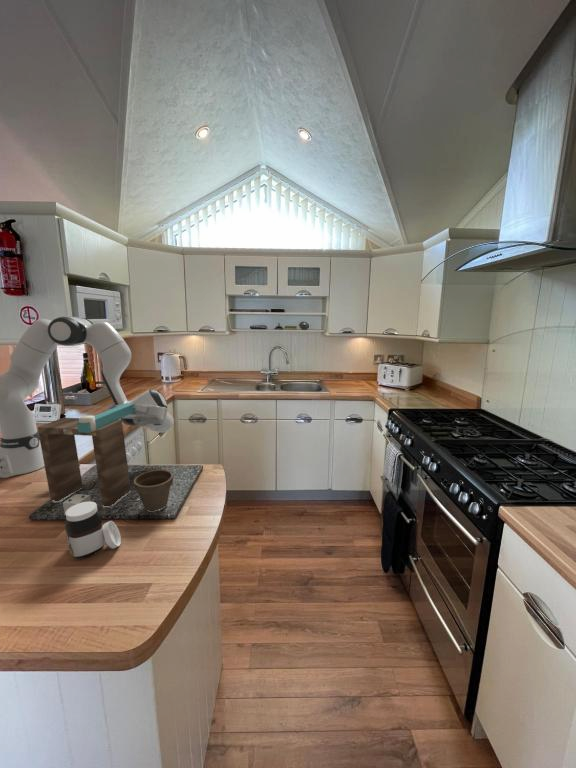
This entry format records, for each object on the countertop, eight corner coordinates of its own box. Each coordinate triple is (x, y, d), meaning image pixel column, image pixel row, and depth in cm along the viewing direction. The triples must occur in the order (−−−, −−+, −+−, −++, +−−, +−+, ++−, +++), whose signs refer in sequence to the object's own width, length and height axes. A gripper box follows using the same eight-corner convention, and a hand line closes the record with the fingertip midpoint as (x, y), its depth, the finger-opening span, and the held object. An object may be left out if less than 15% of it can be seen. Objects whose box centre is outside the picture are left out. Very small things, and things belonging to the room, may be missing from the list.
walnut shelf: (50, 503, 109) (36, 427, 104) (75, 487, 119) (64, 417, 114) (110, 508, 105) (98, 430, 100) (131, 492, 115) (121, 419, 110)
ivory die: (65, 517, 101) (62, 501, 100) (78, 508, 106) (75, 492, 105) (79, 519, 100) (77, 502, 99) (92, 509, 105) (89, 493, 104)
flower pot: (183, 499, 109) (180, 471, 107) (160, 519, 99) (157, 488, 97) (153, 495, 113) (150, 467, 111) (128, 514, 102) (124, 483, 100)
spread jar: (66, 547, 88) (58, 507, 85) (112, 528, 96) (106, 490, 93) (77, 571, 79) (70, 527, 77) (127, 547, 87) (122, 507, 85)
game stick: (77, 432, 98) (75, 419, 98) (126, 411, 120) (124, 400, 119) (89, 432, 98) (87, 419, 97) (136, 411, 119) (134, 400, 118)
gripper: (123, 407, 131) (98, 397, 118) (171, 408, 127) (151, 398, 114) (119, 422, 129) (94, 414, 116) (168, 424, 125) (147, 416, 112)
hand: (122, 406), depth 115 cm, fingers open, 8 cm apart
